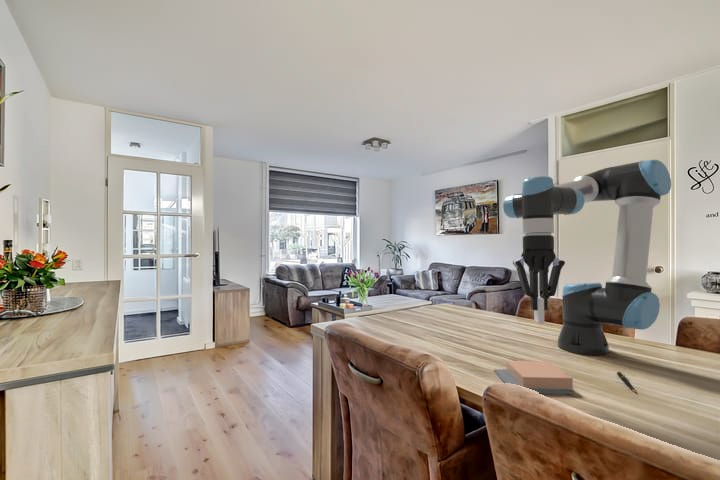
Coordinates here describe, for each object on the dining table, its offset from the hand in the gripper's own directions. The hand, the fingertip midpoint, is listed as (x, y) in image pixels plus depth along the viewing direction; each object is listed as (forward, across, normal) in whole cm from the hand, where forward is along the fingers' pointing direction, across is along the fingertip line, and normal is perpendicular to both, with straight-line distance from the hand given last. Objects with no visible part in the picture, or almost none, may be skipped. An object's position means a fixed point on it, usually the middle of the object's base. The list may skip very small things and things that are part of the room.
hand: (539, 322), depth 93 cm
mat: (+16, +3, 0) cm, 16 cm away
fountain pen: (+17, -22, -1) cm, 28 cm away
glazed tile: (+14, -5, 0) cm, 15 cm away
